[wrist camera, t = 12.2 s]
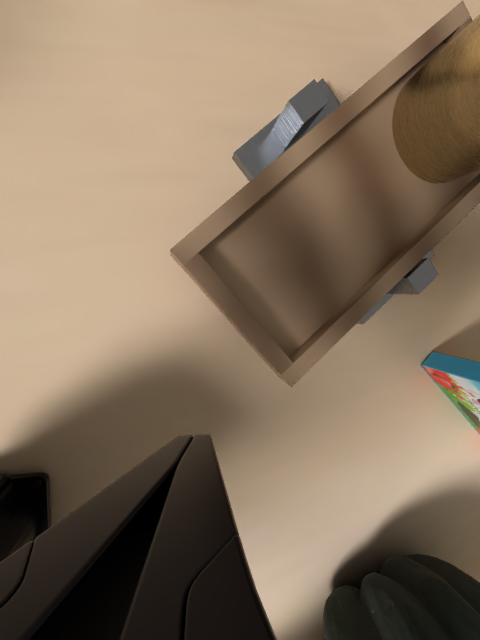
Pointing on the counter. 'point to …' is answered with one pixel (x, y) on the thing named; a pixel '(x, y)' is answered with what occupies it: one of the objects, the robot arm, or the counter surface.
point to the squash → (406, 603)
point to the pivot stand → (284, 134)
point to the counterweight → (442, 112)
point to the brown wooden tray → (327, 224)
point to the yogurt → (457, 383)
